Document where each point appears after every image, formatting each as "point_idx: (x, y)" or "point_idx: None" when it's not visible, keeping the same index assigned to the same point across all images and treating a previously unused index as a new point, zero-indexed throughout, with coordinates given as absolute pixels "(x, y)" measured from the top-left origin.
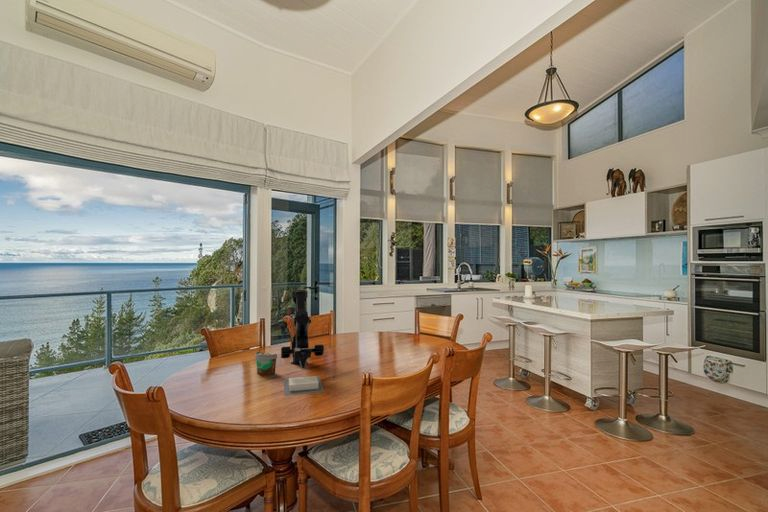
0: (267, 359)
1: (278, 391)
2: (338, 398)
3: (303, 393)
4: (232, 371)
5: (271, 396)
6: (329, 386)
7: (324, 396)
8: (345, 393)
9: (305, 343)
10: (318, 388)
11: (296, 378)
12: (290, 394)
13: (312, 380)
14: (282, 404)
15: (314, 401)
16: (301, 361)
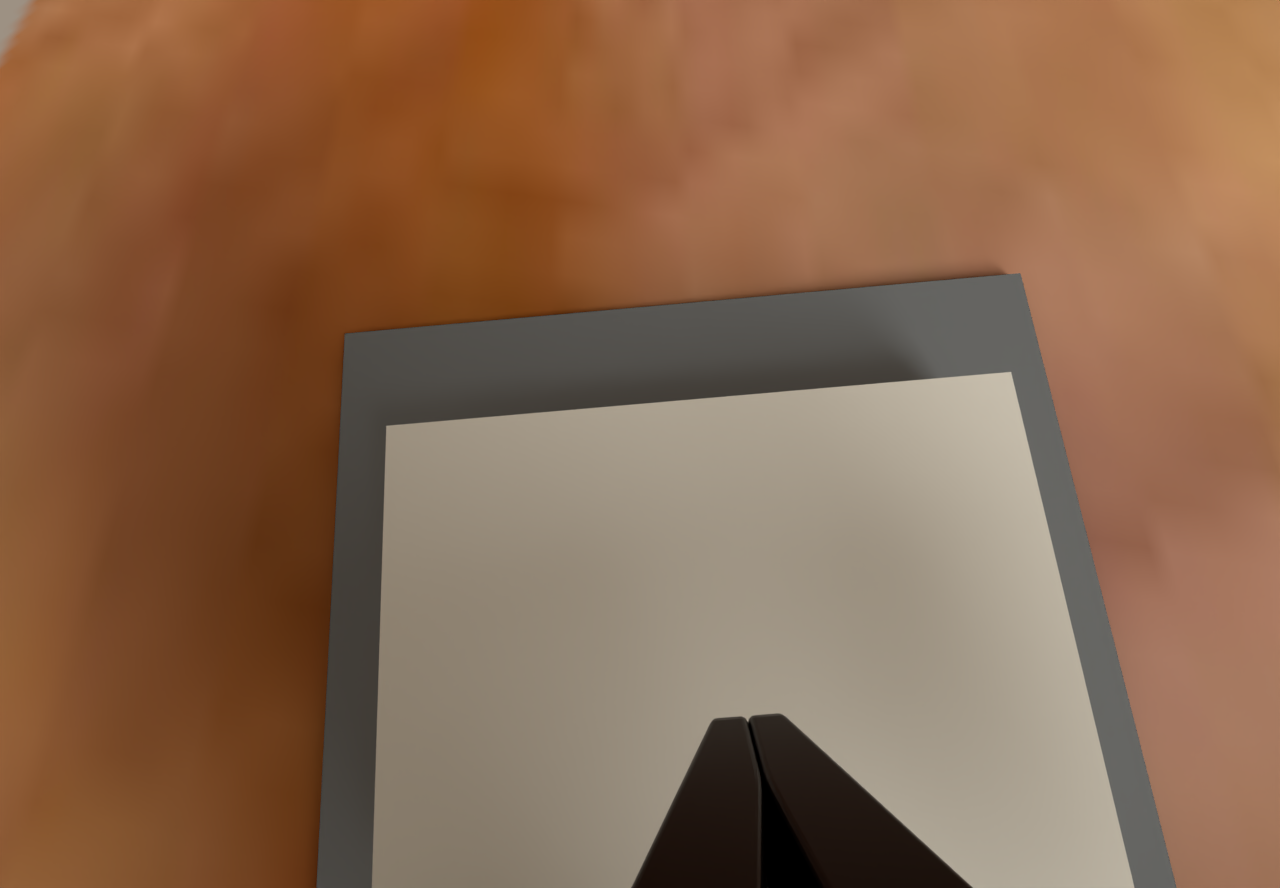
0: None
1: (1188, 541)
2: (194, 107)
3: (698, 310)
4: None
5: (1244, 325)
6: (201, 628)
7: (373, 198)
8: (39, 259)
9: None
10: None
11: (912, 826)
12: (919, 300)
13: (504, 584)
14: (976, 29)
15: (535, 61)
16: (873, 840)
